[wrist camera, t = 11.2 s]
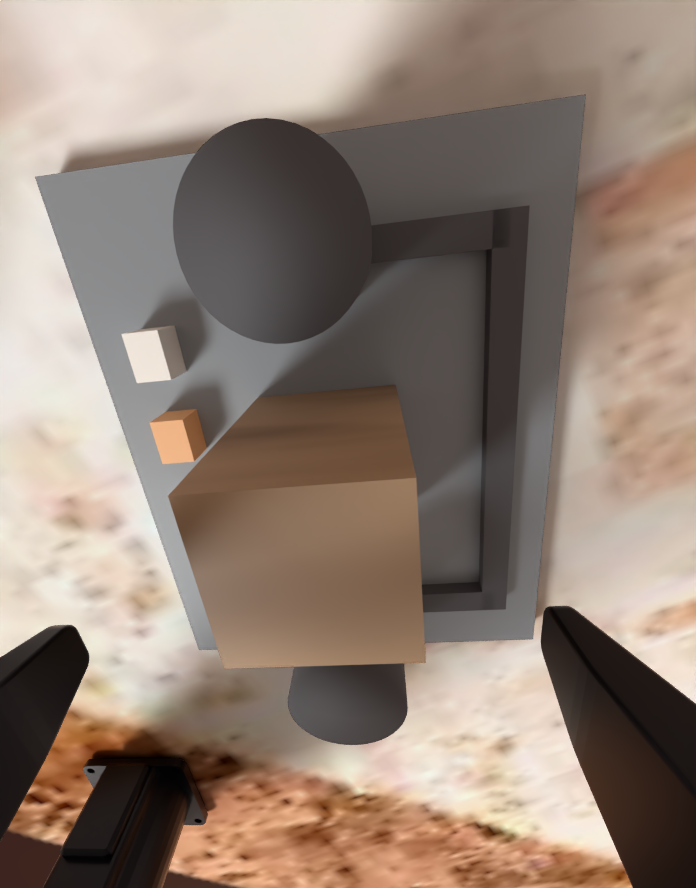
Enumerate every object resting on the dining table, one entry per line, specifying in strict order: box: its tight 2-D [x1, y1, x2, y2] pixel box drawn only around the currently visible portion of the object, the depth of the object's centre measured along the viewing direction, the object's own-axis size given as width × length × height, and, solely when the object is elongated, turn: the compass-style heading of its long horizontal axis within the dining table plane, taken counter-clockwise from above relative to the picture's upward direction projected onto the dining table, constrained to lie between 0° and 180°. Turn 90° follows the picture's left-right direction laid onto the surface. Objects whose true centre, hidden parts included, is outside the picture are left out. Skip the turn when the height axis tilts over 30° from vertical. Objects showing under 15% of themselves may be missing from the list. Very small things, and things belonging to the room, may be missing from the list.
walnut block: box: [168, 385, 426, 669], centre depth 12 cm, size 5×5×7 cm
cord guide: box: [173, 118, 530, 745], centre depth 13 cm, size 18×8×5 cm, turn 7°
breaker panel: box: [35, 94, 586, 650], centre depth 15 cm, size 20×16×2 cm
